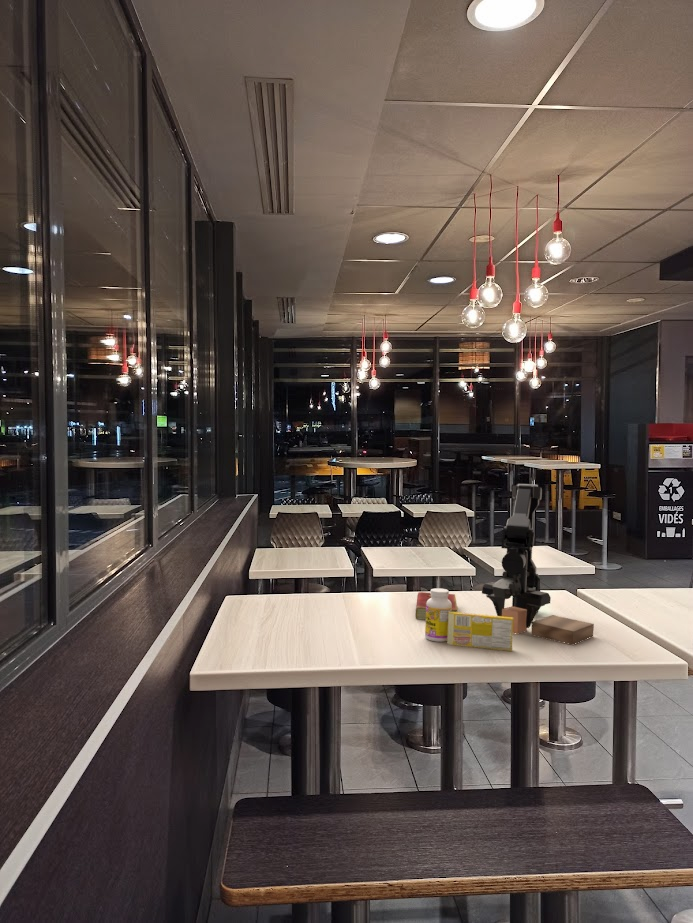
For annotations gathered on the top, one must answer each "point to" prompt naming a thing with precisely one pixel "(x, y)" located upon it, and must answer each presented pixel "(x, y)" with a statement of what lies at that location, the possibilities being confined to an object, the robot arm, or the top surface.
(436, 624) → the supplement bottle
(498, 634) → the candy box
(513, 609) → the pink clay cube
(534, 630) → the walnut block
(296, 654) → the top surface
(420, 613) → the hardcover book
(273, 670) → the top surface
